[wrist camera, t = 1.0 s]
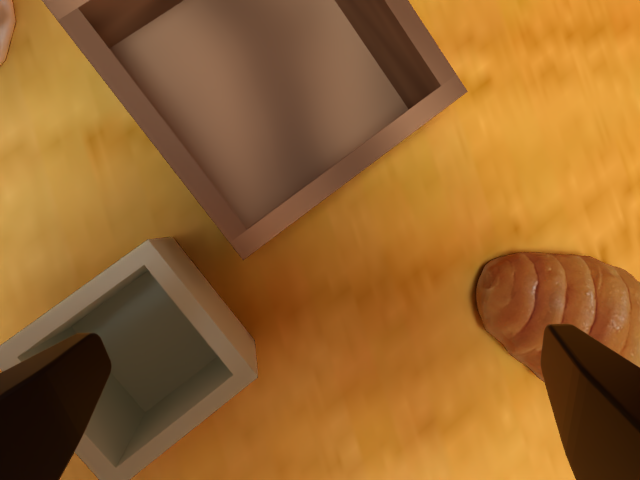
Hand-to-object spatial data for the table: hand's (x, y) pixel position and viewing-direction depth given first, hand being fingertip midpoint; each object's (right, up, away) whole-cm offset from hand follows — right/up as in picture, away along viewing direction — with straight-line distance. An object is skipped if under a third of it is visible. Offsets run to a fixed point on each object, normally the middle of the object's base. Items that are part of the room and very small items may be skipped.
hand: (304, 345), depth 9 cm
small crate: (-7, -2, +11) cm, 13 cm away
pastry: (+13, -2, +14) cm, 19 cm away
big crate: (-2, +9, +11) cm, 15 cm away
